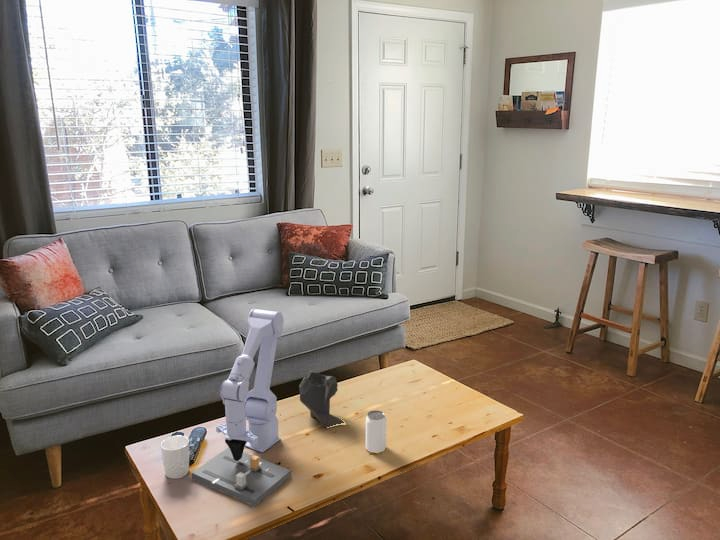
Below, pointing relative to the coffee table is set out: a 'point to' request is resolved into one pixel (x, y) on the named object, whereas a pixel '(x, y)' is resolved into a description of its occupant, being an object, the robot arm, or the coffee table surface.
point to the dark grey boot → (319, 397)
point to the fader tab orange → (254, 463)
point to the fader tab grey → (241, 481)
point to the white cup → (175, 456)
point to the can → (375, 431)
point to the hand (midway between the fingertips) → (237, 458)
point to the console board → (225, 469)
